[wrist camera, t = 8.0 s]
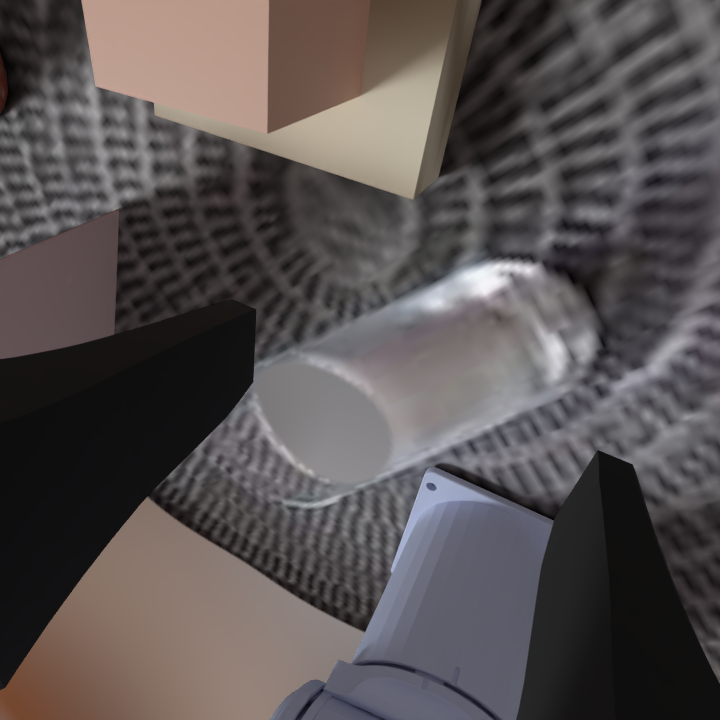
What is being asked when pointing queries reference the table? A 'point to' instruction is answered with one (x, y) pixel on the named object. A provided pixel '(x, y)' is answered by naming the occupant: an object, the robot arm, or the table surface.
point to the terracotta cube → (231, 55)
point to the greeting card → (60, 290)
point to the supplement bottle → (3, 85)
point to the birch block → (380, 101)
